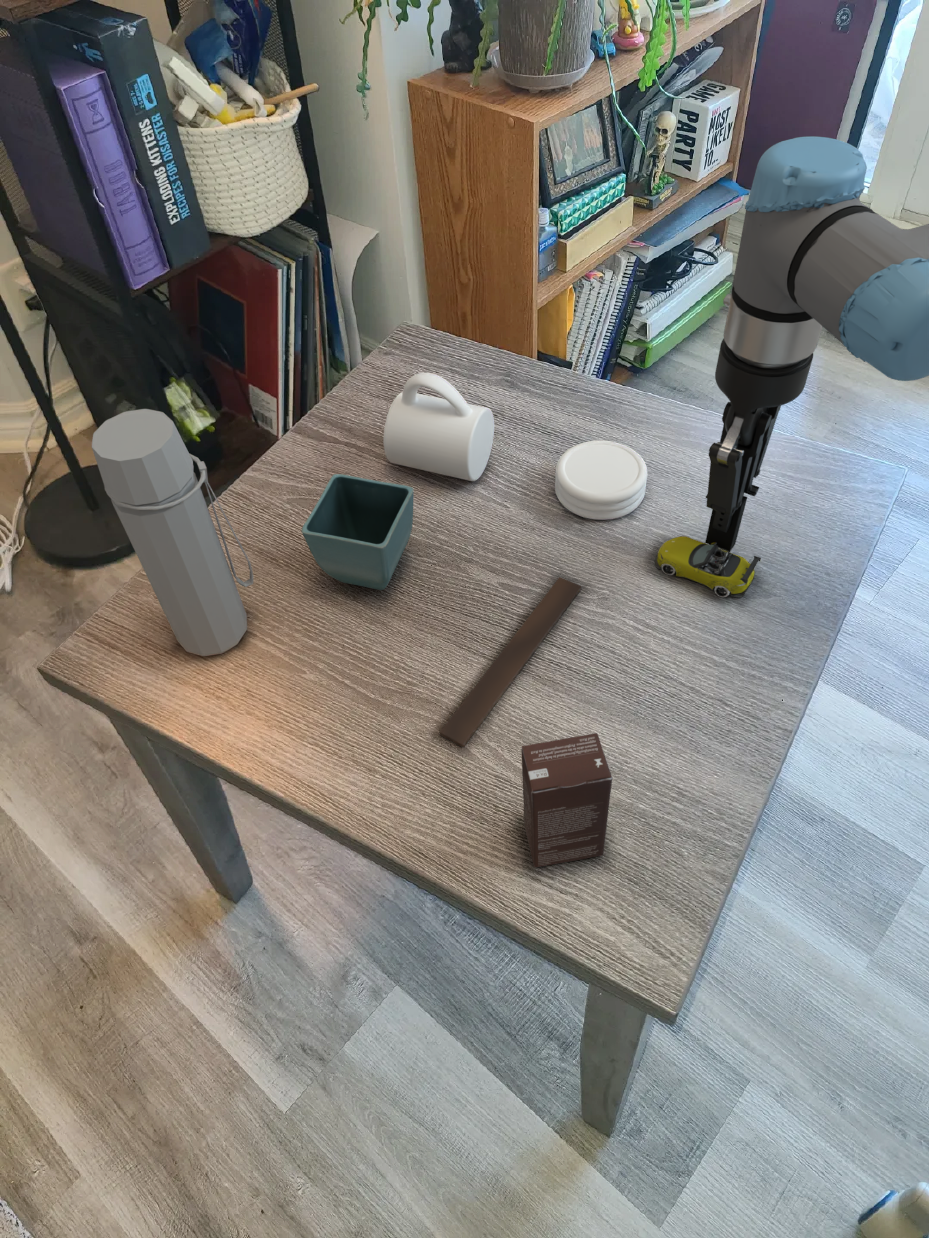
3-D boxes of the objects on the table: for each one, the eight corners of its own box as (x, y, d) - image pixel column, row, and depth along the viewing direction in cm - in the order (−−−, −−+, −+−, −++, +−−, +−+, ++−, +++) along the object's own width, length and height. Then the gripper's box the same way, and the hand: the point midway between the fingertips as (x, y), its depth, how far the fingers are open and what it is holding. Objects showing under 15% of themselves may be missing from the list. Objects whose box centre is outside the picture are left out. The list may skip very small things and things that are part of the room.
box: (590, 807, 76) (599, 729, 66) (604, 857, 73) (616, 782, 63) (520, 819, 75) (519, 743, 66) (531, 869, 72) (532, 797, 63)
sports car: (668, 538, 95) (672, 517, 93) (759, 573, 91) (765, 552, 89) (647, 568, 93) (650, 548, 90) (740, 605, 89) (745, 585, 87)
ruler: (581, 589, 91) (581, 586, 91) (463, 747, 80) (463, 744, 80) (559, 579, 92) (559, 576, 92) (439, 735, 81) (439, 732, 80)
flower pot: (395, 609, 91) (384, 547, 84) (315, 593, 93) (298, 531, 86) (422, 549, 96) (415, 486, 89) (346, 535, 98) (333, 472, 91)
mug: (470, 496, 101) (464, 409, 92) (387, 477, 104) (374, 391, 95) (495, 451, 106) (493, 364, 97) (416, 434, 109) (406, 348, 99)
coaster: (536, 496, 100) (537, 472, 98) (589, 450, 105) (590, 426, 102) (611, 535, 96) (613, 511, 93) (662, 485, 101) (665, 461, 98)
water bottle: (188, 673, 87) (94, 477, 68) (169, 618, 91) (76, 420, 72) (278, 639, 89) (212, 440, 70) (256, 587, 94) (187, 387, 74)
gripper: (754, 295, 79) (711, 493, 97) (692, 371, 72) (659, 569, 91) (839, 317, 76) (778, 518, 94) (782, 399, 70) (729, 598, 88)
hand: (720, 543), depth 92 cm, fingers closed
